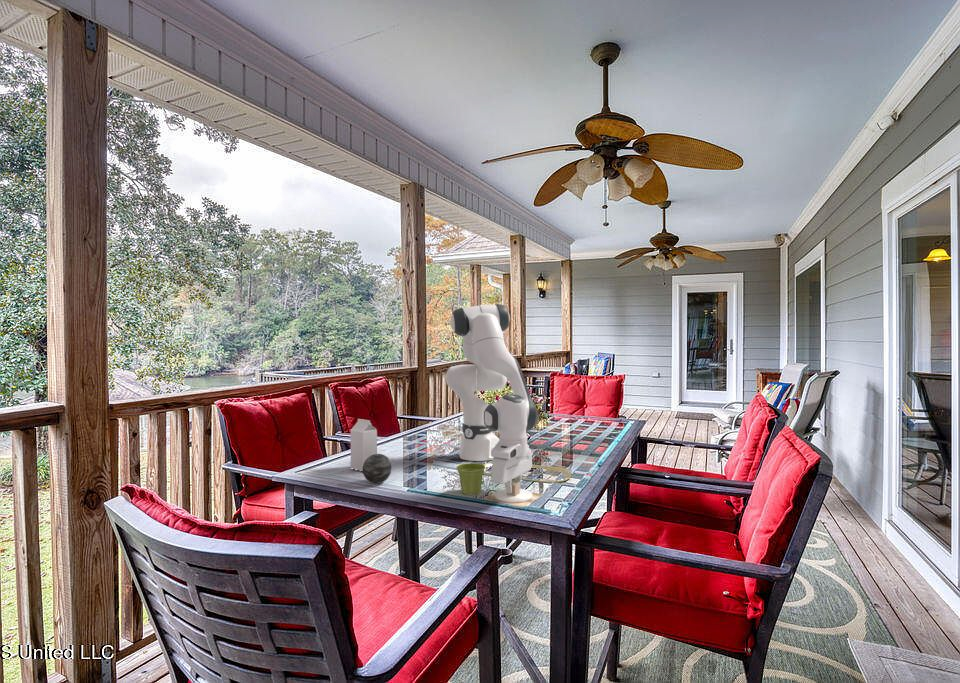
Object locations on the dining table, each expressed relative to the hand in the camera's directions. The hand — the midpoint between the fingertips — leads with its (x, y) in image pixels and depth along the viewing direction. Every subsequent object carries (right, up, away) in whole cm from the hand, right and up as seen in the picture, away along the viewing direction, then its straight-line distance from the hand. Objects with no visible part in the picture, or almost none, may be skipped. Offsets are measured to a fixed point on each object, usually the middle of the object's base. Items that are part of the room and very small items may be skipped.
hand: (513, 490), depth 153 cm
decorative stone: (-46, -3, +17) cm, 49 cm away
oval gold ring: (+6, -3, +27) cm, 28 cm away
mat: (0, -2, 0) cm, 2 cm away
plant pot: (-13, -3, +5) cm, 15 cm away
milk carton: (-55, -2, +34) cm, 65 cm away
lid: (0, -2, 0) cm, 2 cm away
